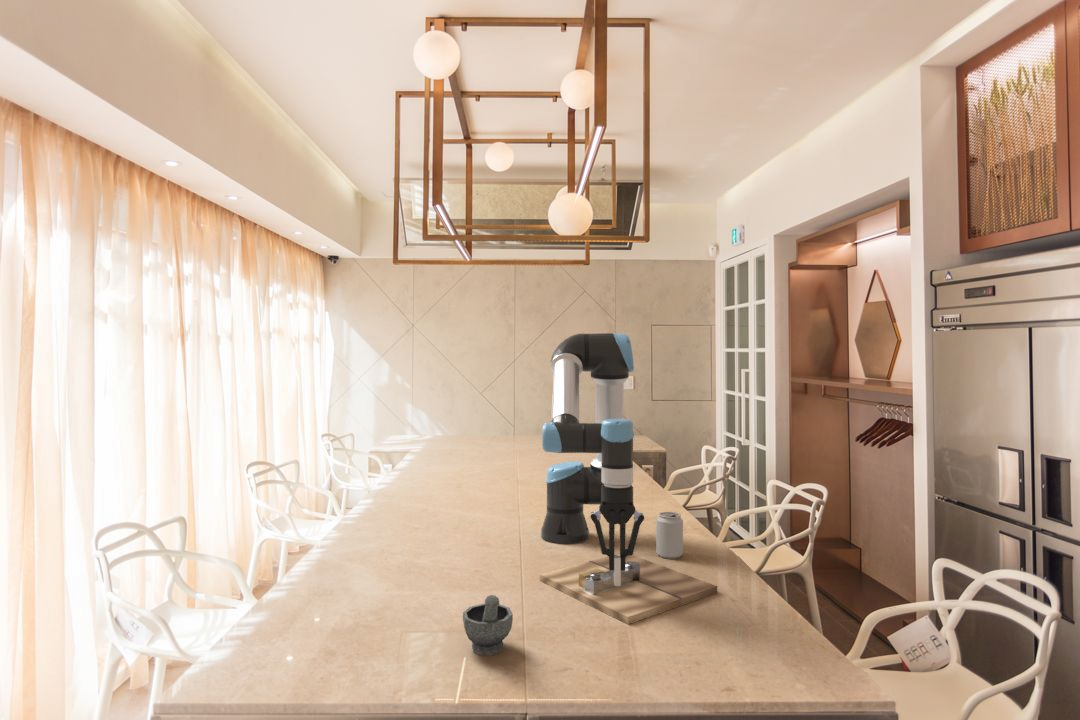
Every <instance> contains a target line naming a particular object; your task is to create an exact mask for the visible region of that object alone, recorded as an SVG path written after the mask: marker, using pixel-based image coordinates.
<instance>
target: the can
mask: <svg viewBox="0 0 1080 720" xmlns="http://www.w3.org/2000/svg"><path fill="white" fill-rule="evenodd" d="M681 515H682V514H680V513H678V512H673V511H662V512H659V513H658V516H657V518H656V522H655V523H656V524H655V528H656V529H655V530H656V534H655V535H656V537H655V538H656V539H655V540H656V542H655V544H656V545H655V546H656V548H655V549H656V550H655V551H656V554H658V556H659V557H661V558H664V559H670V560H671V559H675V560H676V559H679V558H680V557H681V556H682V555H683V553H684V521H683V519H682V518H681Z"/></svg>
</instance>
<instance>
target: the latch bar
mask: <svg viewBox="0 0 1080 720" xmlns="http://www.w3.org/2000/svg"><path fill="white" fill-rule="evenodd" d="M639 579H640V564H639V563H638V562H633V561H629V562H625V571H621V584H624V583H627V582H630V581H637V580H639ZM613 587H616V586H614V571H613V570H610V571H607V572H604V573H601V574H600V573H591V574H590V577H589V578H586V579H585V591H587V592H590V593H592V594H596V593H599V592H602V591H604V590H607V589H610V588H613Z"/></svg>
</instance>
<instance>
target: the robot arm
mask: <svg viewBox="0 0 1080 720" xmlns="http://www.w3.org/2000/svg"><path fill="white" fill-rule="evenodd" d="M632 349H633V347H632V342H631V339H630V336H628V334H626V333H625V334H624V333H617V332H616V333H615V332H610V333H609V332H607V333H603V332H602V333H584V332H583V333H576V334H573V335H570V336H568V337H567V338H565V339H563V341H562V342H560V343H559V344H558V345H557V346H556V348H555V349H554V351H553V352H552V355H551V358H550V366H549V367H550V372H551V374H552V375H553V377H552V396H551V397H552V398H551V413H550V422H545V423H543V425H542V427H541V428H542V430H541V433H542V434H541V436H542V437H541V441H542V442H541V444H542V449H543V451H544V452H546V453H555V454H567V453H568V454H573V453H574V454H576V453H578V454H579V453H580V454H584V453H585V454H594V455H595V456H594V457H593V458H592V459H591V460H590V464H589V466H585V465H584V462H582V461H566V462H560V463H555V464H553V465H551V466H549V467H548V469H547V471H546V480H545V483H546V513H545V517H544V521H543V525H542V527H541V530H540V531H541V532H540V535H541V536H540V537H541V538H542V539H543V541H546V542H549V543H555V544H577V543H582V542H584V541H587V540H588V539H589V537H590V531H589V530H590V529H589V527H588V523H587V520H586V516H585V514H584V505H599V509H597V510H595V511H592V512H590V519H591V521H592V522H593V524H594V527H595V531H596V534H597V538H598V543H599V546H600V551H601V554H602V555H604V556H606V557H608V556H609V569H610V570H613V571H614V586H621V571H625V558H626V556H628V555H634V552H635V551H634V550H635V547H636V543H637V539H638V536H639V532H640V526H641V525H642V523H643V522H644V520H645V515H644V513H643V512H639V511H638V510H636V507H635V505H634V486H633V483H634V460H633V459H634V436H635V433H634V424H633V421H632V420H631V419H626V418H624V383H625V382H626V381H627V380H628V379H629V378H630V377H629V373H632V372H633V371H634V368H635V366H634V364H635V363H634V356H633V355H634V354H633V350H632ZM582 372H590V379H592V380H593V382H594V383H595V422H592V423H590V422H588V423H587V422H580V375H581V373H582ZM601 515H602V516H603V518H604V519H605V521H606V523H608V547H607V545H606V541H605V537H604V532H603V529H602V524H601ZM632 517H633V520H634V521H633V526H632V529H631V533H630V534H631V535H630V538H629V542H628V545H627V548H626V543H627V542H626V538H627V537H626V529H627V528H626V527H627V526H626V524H628V522H630V519H631V518H632ZM616 525H619V554H620V555H616V554H615V540H616V539H615V526H616Z"/></svg>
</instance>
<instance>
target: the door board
mask: <svg viewBox="0 0 1080 720" xmlns="http://www.w3.org/2000/svg"><path fill="white" fill-rule="evenodd" d="M615 555H620V553H617V554H615ZM629 561H633V562H638V563H639V564H640V579H639V580H637V581H630V582H627V583H624V584H621V586H616V587H613V588H610V589H607V590H604V591H602V592H599V593H596V594H592V593H590V592H587V591H585V579H586V578H589V577H590V574H591V573H600V574H601V573H604V572H607V571H610V569H609V556H605V557H601V558H597V559H594V560H589V561H586V562H582V563H578V564H574V565H571V566H567V567H563V568H559V569H555V570H551V571H548V572H543V573H539V581H540V582H542V583H543V584H546V585H548V586H550V587H551V588H554V589H556V590H558V591H559V592H561V593H564V594H566V595H567V596H570V597H572V598H574V599H576V600H578V601H579V602H582V603H584V604H586V605H588V606H590V607H592V608H593V609H596V610H598V611H600V612H602V613H604V614H606V615H608V616H610V617H612V618H614V619H616V620H618V621H620V622H621V623H624V624H626V625H630V623H631V624H633V623H636V622H639V621H642V620H644V618H645V619H647V618H649V617H653V616H656V615H659V614H661V612H662V613H665V612H667V611H669V609H670V610H673V609H676V608H678V607H681V606H683V605H686V604H689V603H692V602H696V601H698V600H702V599H704V598H706V597H709V596H712V595H714V594H718V586H717V585H715V584H713V583H711V582H707V581H704V580H701V579H698V578H696V577H693V576H691V575H688V574H685V573H683V572H680V571H677V570H674V569H672V568H669V567H666V566H663V565H661V564H658V563H655V562H652V561H649V560H647V559H644V558H641V557H639V556H636V555H634V554H633V555H628V556H626V558H625V562H629ZM672 608H673V609H672ZM666 610H667V611H666ZM658 613H659V614H658ZM638 620H639V621H638Z"/></svg>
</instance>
